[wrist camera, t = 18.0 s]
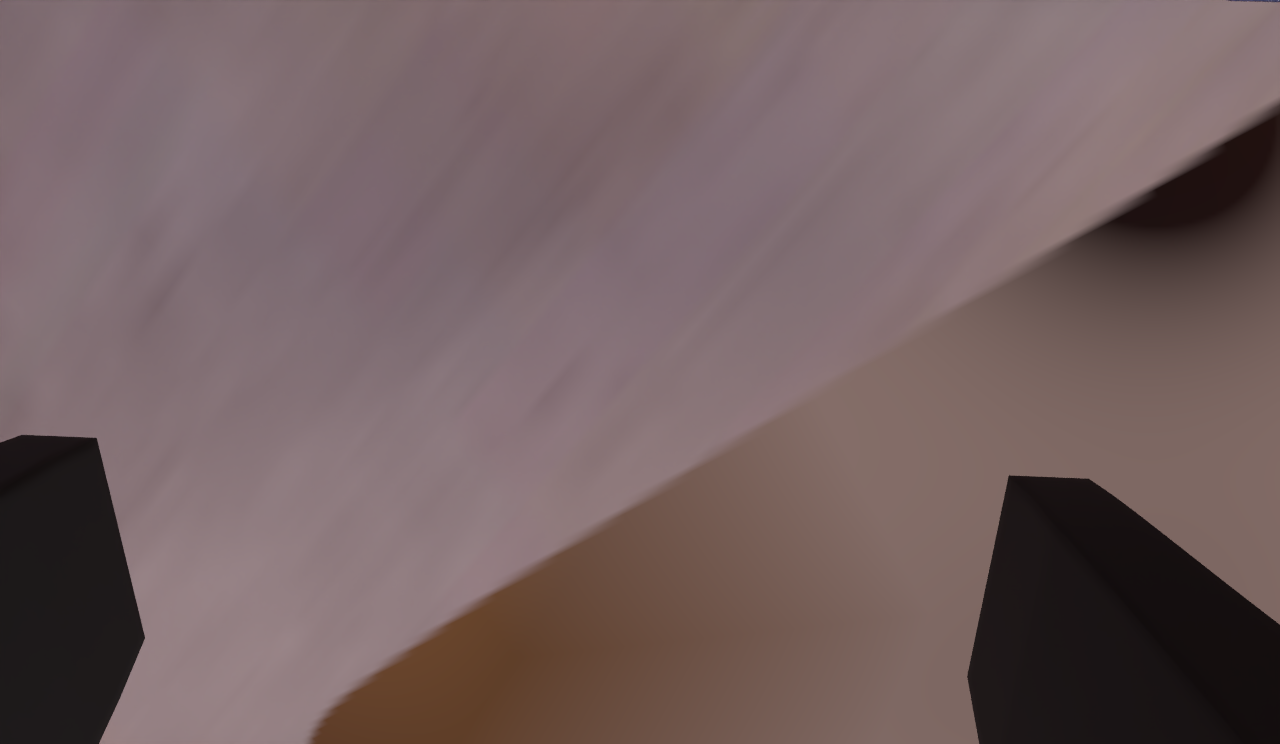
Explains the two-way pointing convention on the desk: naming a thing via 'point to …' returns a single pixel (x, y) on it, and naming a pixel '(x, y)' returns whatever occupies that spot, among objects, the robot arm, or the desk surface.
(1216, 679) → the robot arm
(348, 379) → the desk surface
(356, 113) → the desk surface
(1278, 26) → the desk surface
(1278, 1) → the crock lid
